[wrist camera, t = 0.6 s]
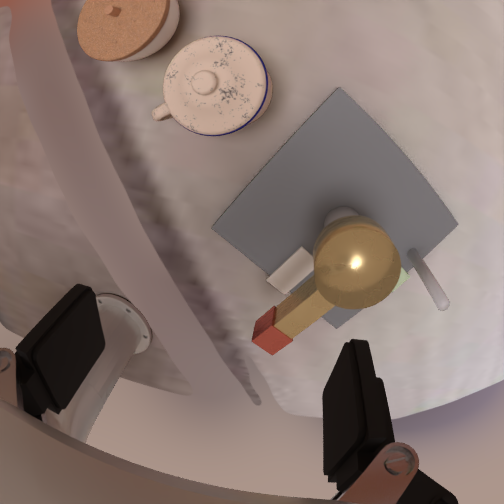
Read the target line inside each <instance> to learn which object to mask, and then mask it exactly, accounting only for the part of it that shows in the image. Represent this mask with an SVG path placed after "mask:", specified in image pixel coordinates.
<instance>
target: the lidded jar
mask: <svg viewBox="0 0 504 504" xmlns="http://www.w3.org/2000/svg"><path fill="white" fill-rule="evenodd" d="M179 16H180V11H179V4H178V1H177V0H87V1H86V3H85V4H84V6H83V8H82V11H81V13H80V16H79V19H78V26H77V34H78V40H79V43H80V45H81V47H82V49H83V50H84V52H85V53H86V54H87V55H89V56H90V57H92V58H94V59H96V60H101V61H119V62H125V61H134V60H138V59H142V58H145V57H148V56H150V55H152V54H153V53H155V52H157V51H158V50H160V49H161V48H162V47H163V46H164V45H166V44H167V42H168V41H169V40H170V39H171V37H172V36H173V34H174V33H175V31H176V29H177V26H178V23H179Z"/></svg>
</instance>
